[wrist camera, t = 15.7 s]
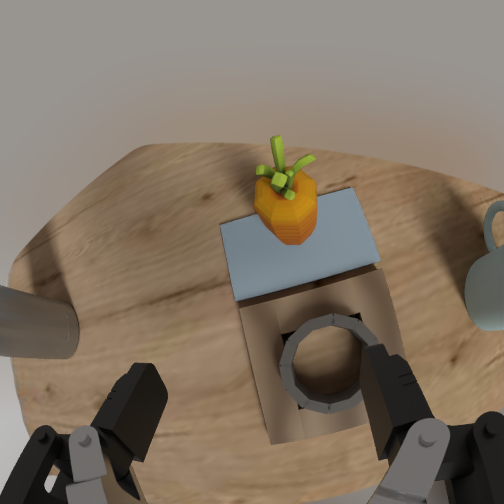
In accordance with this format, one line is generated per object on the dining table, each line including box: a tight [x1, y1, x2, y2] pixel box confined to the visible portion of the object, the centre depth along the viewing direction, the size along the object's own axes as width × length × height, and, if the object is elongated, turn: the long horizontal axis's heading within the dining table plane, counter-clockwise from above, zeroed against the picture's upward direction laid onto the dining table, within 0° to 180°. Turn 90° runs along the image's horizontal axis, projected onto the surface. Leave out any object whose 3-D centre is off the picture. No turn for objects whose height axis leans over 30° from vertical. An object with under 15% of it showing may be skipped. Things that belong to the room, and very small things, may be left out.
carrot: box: [254, 135, 317, 245], centre depth 22 cm, size 5×5×15 cm
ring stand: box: [239, 268, 406, 445], centre depth 23 cm, size 15×15×4 cm
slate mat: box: [220, 187, 381, 302], centre depth 29 cm, size 16×9×1 cm, turn 103°
